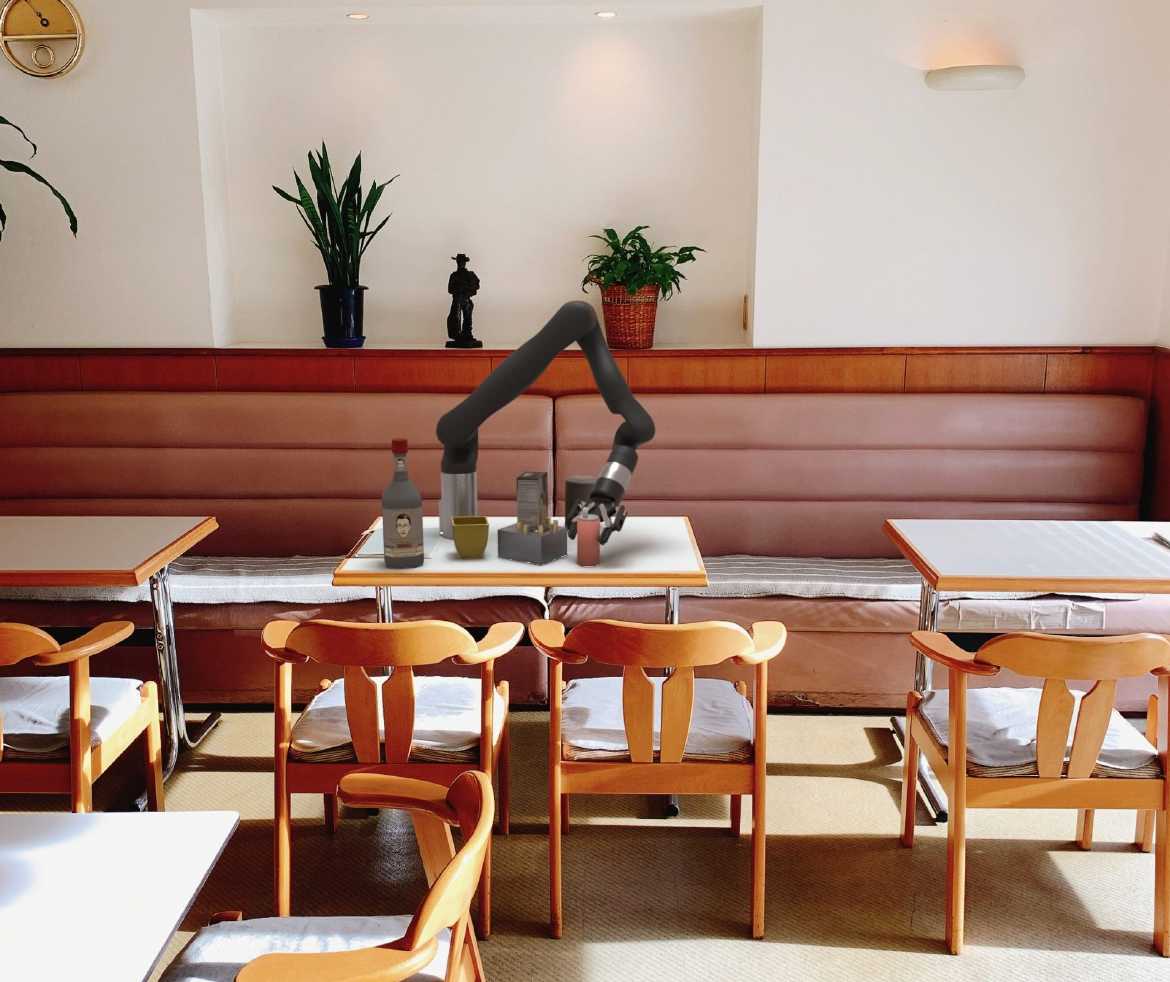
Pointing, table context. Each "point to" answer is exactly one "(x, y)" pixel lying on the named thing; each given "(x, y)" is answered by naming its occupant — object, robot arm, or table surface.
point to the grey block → (532, 541)
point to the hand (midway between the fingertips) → (585, 540)
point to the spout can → (588, 539)
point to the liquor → (402, 515)
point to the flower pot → (470, 535)
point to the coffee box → (532, 496)
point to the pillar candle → (577, 492)
